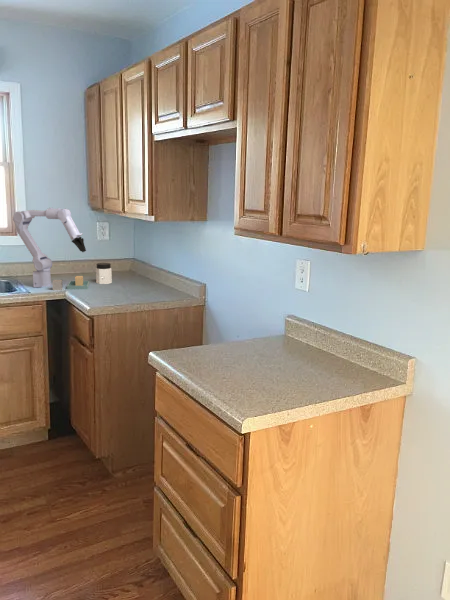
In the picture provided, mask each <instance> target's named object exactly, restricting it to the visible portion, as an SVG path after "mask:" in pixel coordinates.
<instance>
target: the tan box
mask: <svg viewBox="0 0 450 600" xmlns="http://www.w3.org/2000/svg"><path fill="white" fill-rule="evenodd" d="M74 281H75V286H83V281H84V275H76V276H75V277H74Z"/></svg>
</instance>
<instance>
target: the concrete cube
mask: <svg viewBox="0 0 450 600" xmlns="http://www.w3.org/2000/svg"><path fill="white" fill-rule="evenodd" d="M51 284H52V291H63V290H64V289H63V280H62V279H53V280H51Z"/></svg>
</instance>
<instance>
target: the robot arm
mask: <svg viewBox="0 0 450 600" xmlns="http://www.w3.org/2000/svg"><path fill="white" fill-rule="evenodd" d="M35 217H46V219H48V220H60V221H61V223H62V225H63V226H64V228H65V230H66V232H67V234H68V236H69V237H70V240H71V243H73V244H74V245H75V246H76V248H78V250H79V251H80V252H82V253H85V252H86V251H87V249H86V246H85V242H84V241H85V239H84V238H83V237H81V236H82V235H83V232H80V230H79V229H78V227H77V225H76V223H75V221H74V220H73V218H72V212H71V210H70V209H69V208H61V207H57V208H54V207H49V208H47V209H45V210H37V209H36V210H35V209H29V210H22V211H15V213H13V217H12V221H13V223H14V226H15V230H16V232H17V234H18V236H19V237H20V239H21V240H22V242H23V243H24V245H25V246H26V248H27V249H28V251H29V253H30V254H31V256H32V260H31V261H32V263H33V266H34V269H35V270H33V272H32V281H33V282H32V283H33V288H43V287H52V286H53V283H52V277H51V275H52V274H51V268H52V266H53V261H52V259H50V258H49V257H48V255H47V254H45V253H43V252H42V250H41V249H40V247H39V246H38V244H37V242H36V241H35V239H34V238H33V236H32V234H31V233H30V231H29V230H28V228H29V225H30V224H31V222H32V220H33V219H35Z"/></svg>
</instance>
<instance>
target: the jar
mask: <svg viewBox="0 0 450 600" xmlns="http://www.w3.org/2000/svg"><path fill="white" fill-rule="evenodd" d="M111 265H112V263H110V262H98V263H96V267H95V279H96V284H99V285H109V284H112V282H113V279H112V277H113V275H112V274H113V272H112V267H111Z"/></svg>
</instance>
